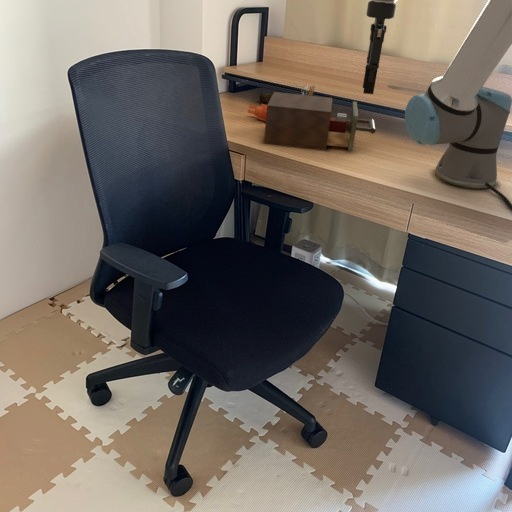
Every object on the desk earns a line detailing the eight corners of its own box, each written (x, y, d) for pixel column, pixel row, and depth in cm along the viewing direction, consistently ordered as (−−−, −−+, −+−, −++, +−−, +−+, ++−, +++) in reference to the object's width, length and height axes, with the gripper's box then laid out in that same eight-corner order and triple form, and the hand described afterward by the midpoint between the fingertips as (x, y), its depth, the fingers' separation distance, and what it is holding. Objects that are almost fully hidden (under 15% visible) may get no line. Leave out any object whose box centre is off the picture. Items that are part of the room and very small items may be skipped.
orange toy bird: (246, 99, 172) (276, 107, 166) (259, 103, 178) (288, 110, 173) (243, 114, 173) (272, 122, 168) (255, 118, 180) (284, 126, 174)
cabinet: (327, 133, 166) (332, 97, 160) (325, 150, 151) (331, 111, 145) (271, 126, 167) (274, 91, 162) (264, 143, 153) (267, 105, 147)
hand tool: (258, 103, 192) (259, 90, 190) (266, 101, 195) (267, 89, 192) (291, 116, 180) (293, 102, 178) (300, 115, 182) (302, 101, 180)
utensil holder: (307, 117, 180) (311, 81, 174) (316, 122, 175) (320, 85, 169) (291, 117, 178) (295, 81, 172) (300, 123, 173) (304, 86, 167)
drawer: (370, 135, 164) (375, 103, 159) (372, 153, 149) (379, 118, 144) (294, 127, 166) (297, 95, 161) (289, 143, 152) (293, 109, 147)
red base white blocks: (344, 135, 158) (347, 114, 155) (344, 138, 155) (347, 117, 152) (321, 133, 159) (323, 111, 156) (320, 136, 156) (323, 114, 153)
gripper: (367, -3, 146) (354, 82, 158) (370, 2, 130) (355, 97, 142) (394, -1, 146) (379, 85, 157) (400, 5, 129) (383, 100, 141)
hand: (367, 90), depth 149 cm, fingers open, 6 cm apart
